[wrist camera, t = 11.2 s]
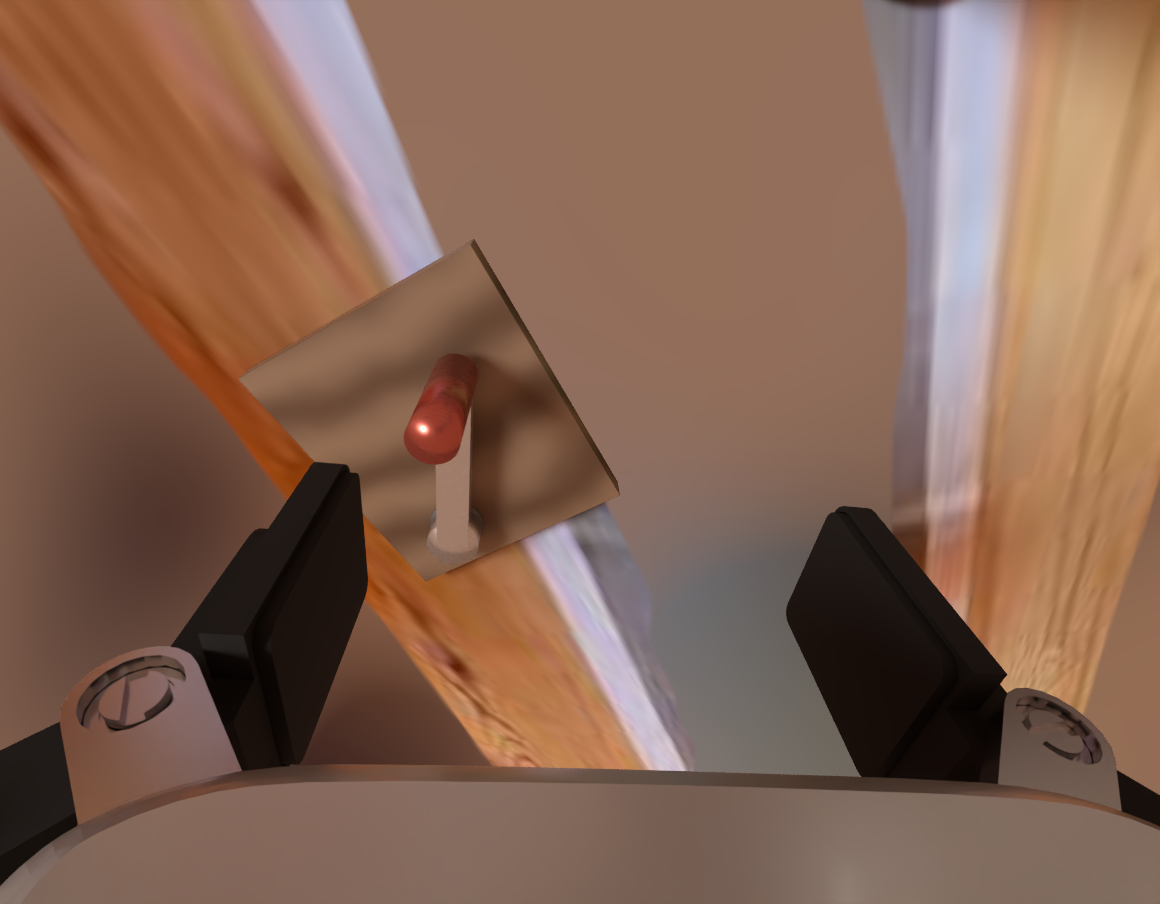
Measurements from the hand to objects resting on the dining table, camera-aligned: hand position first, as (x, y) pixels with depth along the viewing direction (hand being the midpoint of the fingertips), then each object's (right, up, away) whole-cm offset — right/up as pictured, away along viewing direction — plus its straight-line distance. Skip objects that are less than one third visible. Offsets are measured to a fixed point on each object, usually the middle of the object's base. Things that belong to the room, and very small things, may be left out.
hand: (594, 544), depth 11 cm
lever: (-10, +1, +31) cm, 33 cm away
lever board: (-11, +4, +33) cm, 35 cm away
